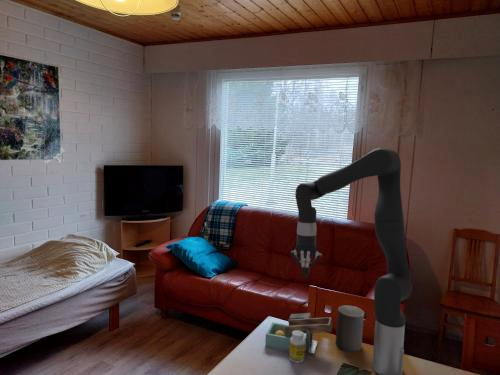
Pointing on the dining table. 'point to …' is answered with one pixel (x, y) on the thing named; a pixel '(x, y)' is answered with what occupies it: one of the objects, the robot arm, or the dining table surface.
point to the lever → (308, 324)
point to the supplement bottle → (297, 346)
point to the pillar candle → (349, 328)
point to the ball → (280, 333)
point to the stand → (310, 344)
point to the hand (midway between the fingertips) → (305, 275)
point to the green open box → (277, 338)
